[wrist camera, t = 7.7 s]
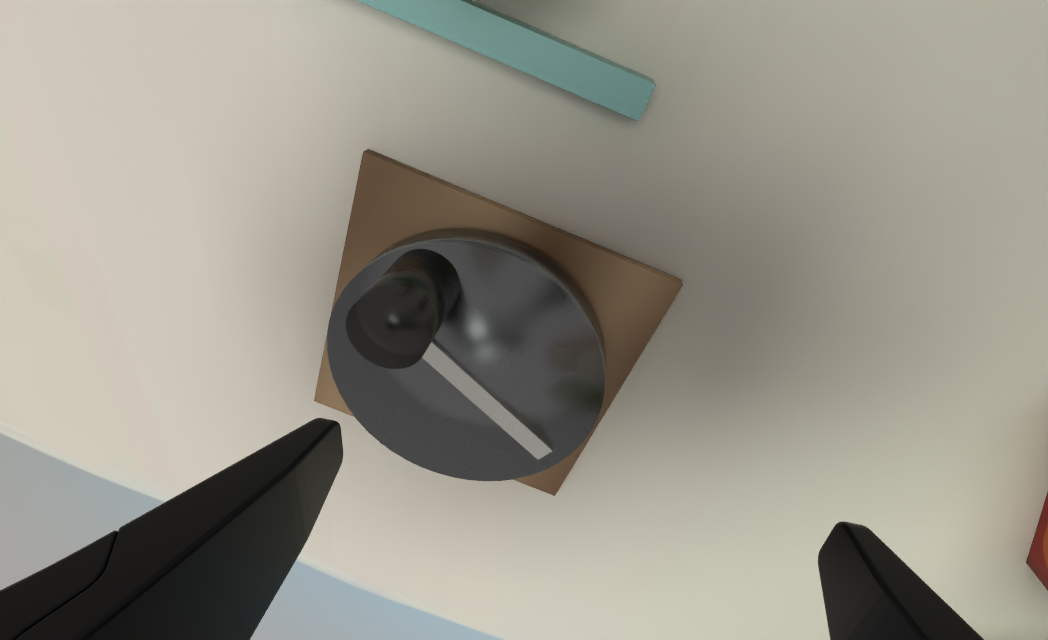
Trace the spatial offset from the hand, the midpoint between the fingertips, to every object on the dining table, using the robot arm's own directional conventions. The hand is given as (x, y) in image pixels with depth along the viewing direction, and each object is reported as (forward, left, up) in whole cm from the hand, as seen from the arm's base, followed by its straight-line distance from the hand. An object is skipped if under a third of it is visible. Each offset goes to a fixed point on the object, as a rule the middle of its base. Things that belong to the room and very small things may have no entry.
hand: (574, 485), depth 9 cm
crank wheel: (+3, +6, -11) cm, 13 cm away
